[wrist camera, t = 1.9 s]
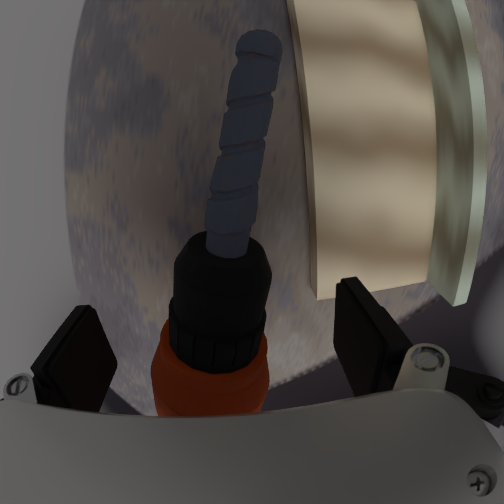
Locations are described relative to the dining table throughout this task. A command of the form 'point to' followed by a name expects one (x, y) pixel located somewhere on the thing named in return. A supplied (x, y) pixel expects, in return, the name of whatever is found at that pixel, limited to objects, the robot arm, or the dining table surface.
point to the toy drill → (224, 264)
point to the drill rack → (391, 142)
